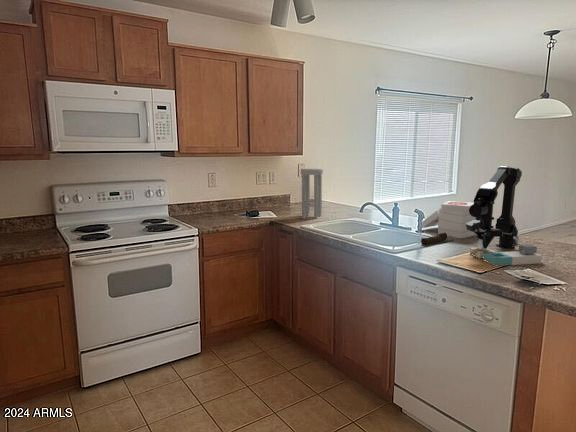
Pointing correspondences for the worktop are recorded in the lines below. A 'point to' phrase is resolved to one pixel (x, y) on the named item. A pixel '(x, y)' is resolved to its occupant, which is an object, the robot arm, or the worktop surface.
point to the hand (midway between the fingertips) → (482, 247)
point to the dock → (512, 258)
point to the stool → (306, 191)
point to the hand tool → (434, 239)
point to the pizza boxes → (452, 219)
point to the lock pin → (481, 245)
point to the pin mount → (480, 252)
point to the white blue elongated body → (514, 240)
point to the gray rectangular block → (527, 249)
